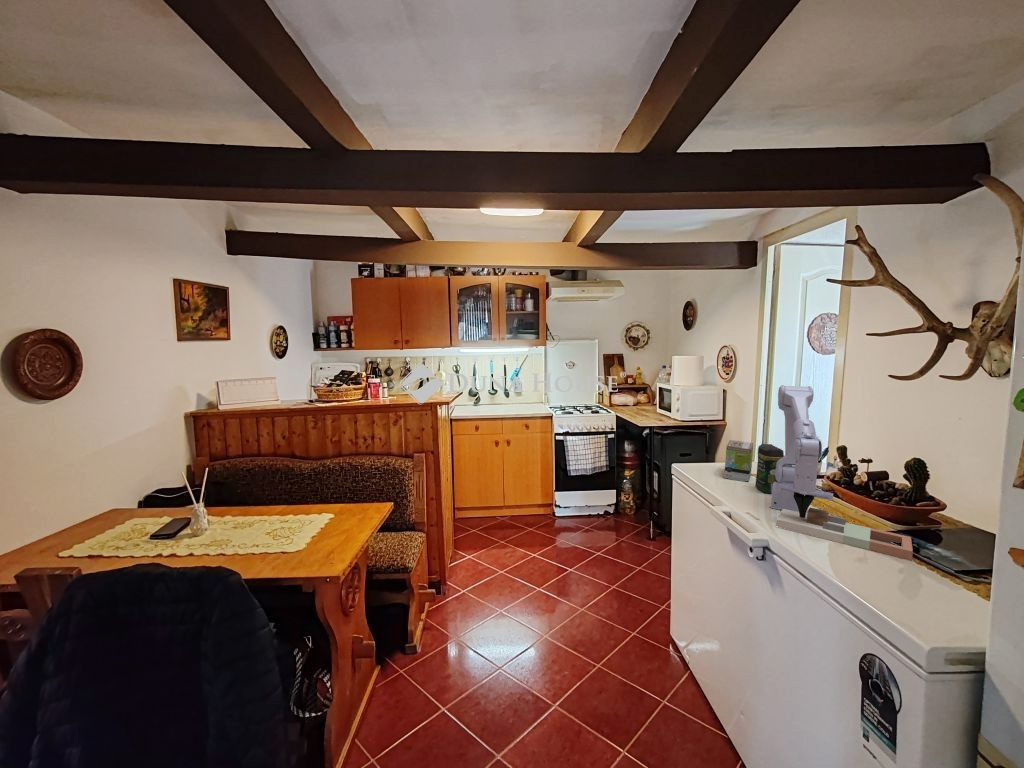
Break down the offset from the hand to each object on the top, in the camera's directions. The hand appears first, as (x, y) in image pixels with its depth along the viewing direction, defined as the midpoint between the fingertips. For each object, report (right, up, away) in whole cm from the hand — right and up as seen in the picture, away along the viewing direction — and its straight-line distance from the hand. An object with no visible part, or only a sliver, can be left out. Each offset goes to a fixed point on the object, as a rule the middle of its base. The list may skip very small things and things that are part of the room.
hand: (802, 516), depth 137 cm
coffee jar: (+9, 0, +34) cm, 36 cm away
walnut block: (+3, -1, -3) cm, 4 cm away
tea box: (+7, +1, +53) cm, 54 cm away
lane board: (+7, -4, -6) cm, 10 cm away
